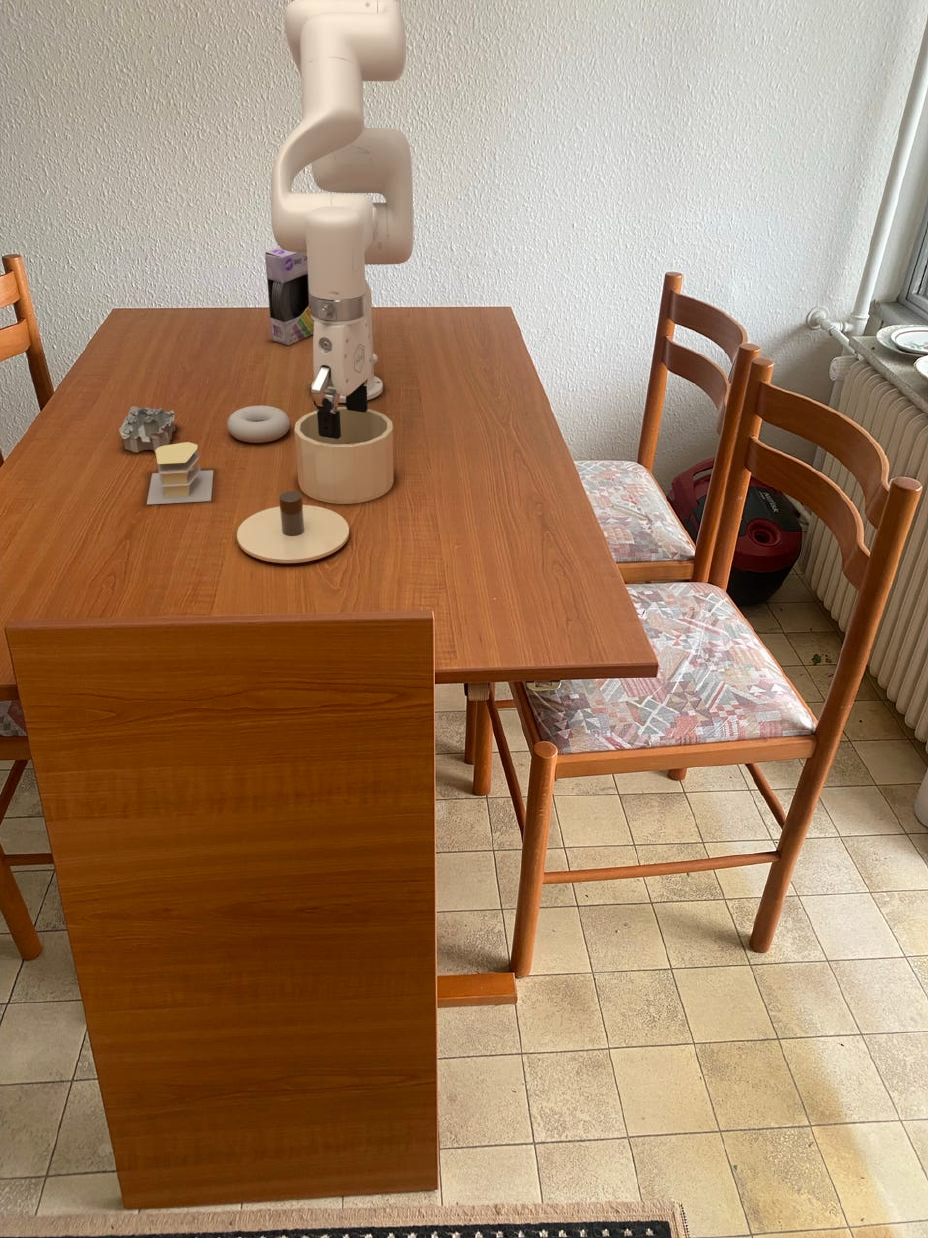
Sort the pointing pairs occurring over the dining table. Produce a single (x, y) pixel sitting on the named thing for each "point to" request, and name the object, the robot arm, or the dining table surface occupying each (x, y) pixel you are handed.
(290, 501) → the lid
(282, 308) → the cake pan box
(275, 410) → the donut
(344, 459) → the crock
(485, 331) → the dining table surface
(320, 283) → the robot arm
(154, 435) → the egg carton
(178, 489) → the stacked layers on plate
